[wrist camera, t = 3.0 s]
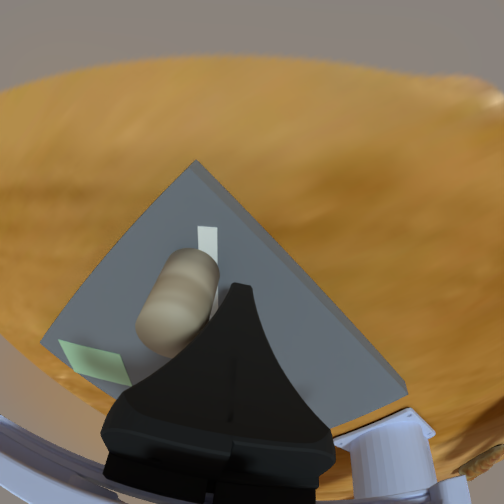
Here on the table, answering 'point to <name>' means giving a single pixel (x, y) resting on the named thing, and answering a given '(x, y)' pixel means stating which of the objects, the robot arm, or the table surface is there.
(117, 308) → the dial board
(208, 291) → the crank handle
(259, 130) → the table surface
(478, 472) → the pastry
